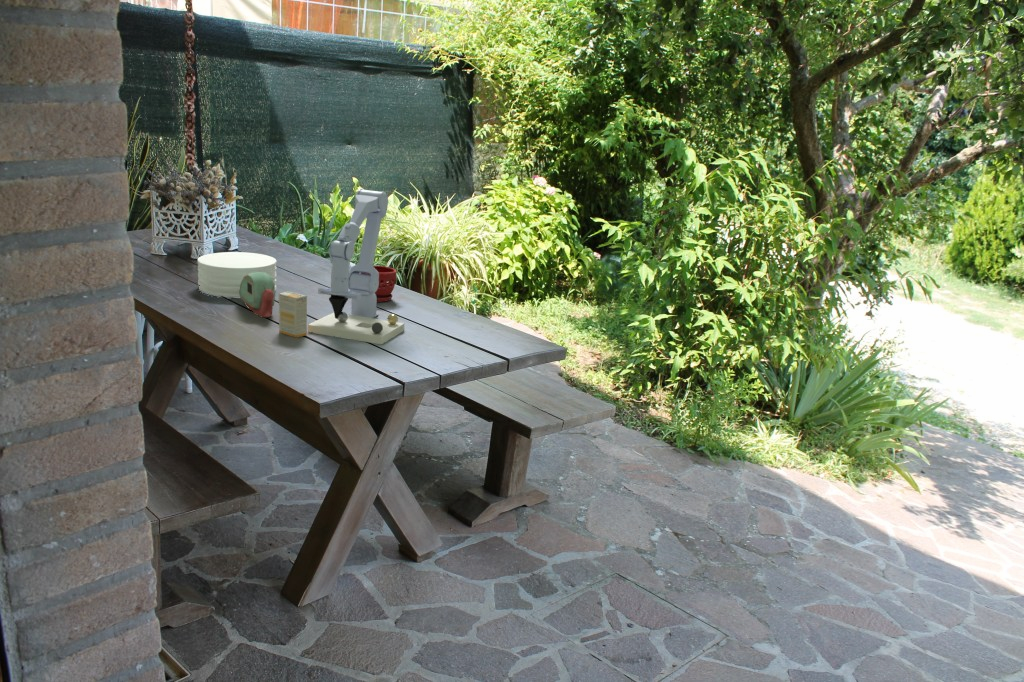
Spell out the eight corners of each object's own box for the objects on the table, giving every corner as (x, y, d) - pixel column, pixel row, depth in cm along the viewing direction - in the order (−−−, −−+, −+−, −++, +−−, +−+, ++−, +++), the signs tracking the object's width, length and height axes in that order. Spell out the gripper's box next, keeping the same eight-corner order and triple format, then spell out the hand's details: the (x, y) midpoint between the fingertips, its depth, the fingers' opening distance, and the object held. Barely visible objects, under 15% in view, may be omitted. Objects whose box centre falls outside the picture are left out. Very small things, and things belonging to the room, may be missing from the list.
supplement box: (307, 335, 275) (307, 295, 271) (295, 338, 271) (296, 298, 268) (290, 329, 280) (290, 290, 276) (278, 332, 276) (278, 292, 272)
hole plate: (334, 319, 295) (334, 312, 294) (404, 330, 289) (404, 323, 288) (307, 331, 278) (307, 324, 278) (381, 344, 272) (381, 336, 271)
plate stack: (261, 278, 342) (261, 250, 339) (287, 295, 320) (287, 265, 317) (189, 283, 326) (188, 253, 323) (210, 301, 305) (210, 270, 301)
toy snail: (237, 302, 305) (236, 264, 301) (258, 301, 309) (258, 263, 305) (259, 321, 285) (259, 281, 281) (281, 319, 290) (282, 279, 286)
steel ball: (339, 311, 285) (346, 309, 283) (344, 321, 286) (351, 318, 284) (333, 315, 282) (340, 313, 280) (338, 325, 283) (345, 322, 281)
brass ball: (389, 322, 288) (390, 312, 287) (399, 323, 287) (399, 313, 286) (385, 324, 285) (385, 314, 284) (395, 326, 284) (395, 316, 283)
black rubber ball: (374, 330, 277) (374, 320, 276) (384, 332, 276) (384, 322, 275) (369, 333, 274) (370, 323, 273) (379, 335, 273) (380, 324, 272)
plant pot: (382, 305, 317) (383, 274, 314) (353, 299, 322) (354, 268, 319) (401, 299, 329) (403, 268, 325) (373, 293, 334) (374, 263, 330)
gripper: (314, 276, 278) (312, 316, 281) (354, 282, 274) (352, 324, 278) (324, 272, 284) (322, 312, 288) (364, 279, 281) (362, 319, 284)
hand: (338, 318), depth 283 cm, fingers closed, pressing on steel ball
